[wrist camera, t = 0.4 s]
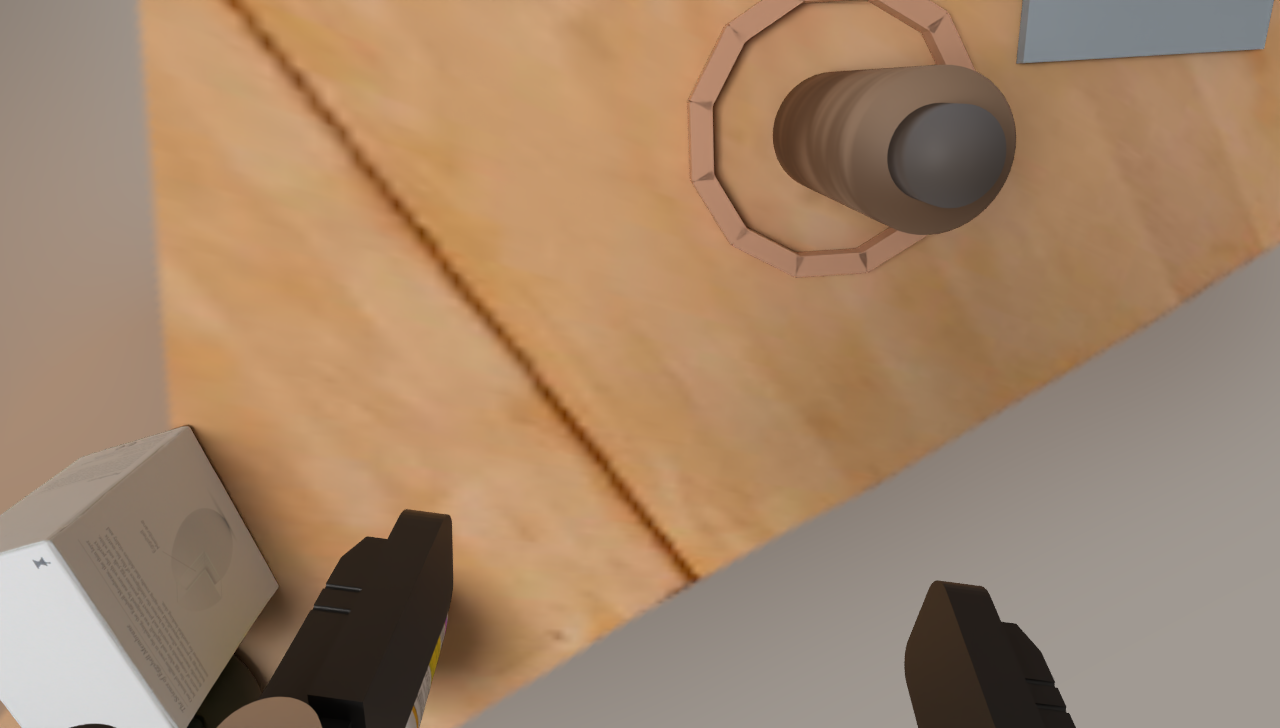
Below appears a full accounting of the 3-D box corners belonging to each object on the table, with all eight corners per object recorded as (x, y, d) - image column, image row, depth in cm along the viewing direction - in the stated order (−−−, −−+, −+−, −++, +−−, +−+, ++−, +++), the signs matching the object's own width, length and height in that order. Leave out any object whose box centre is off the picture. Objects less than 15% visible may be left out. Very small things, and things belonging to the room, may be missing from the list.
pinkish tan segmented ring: (683, -16, 33) (685, -19, 32) (981, -33, 34) (992, -36, 33) (693, 279, 38) (695, 284, 37) (956, 261, 38) (965, 266, 37)
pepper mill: (773, 75, 35) (873, 68, 22) (887, 68, 35) (1053, 57, 22) (772, 193, 37) (865, 249, 24) (881, 186, 37) (1032, 238, 24)
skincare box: (73, 457, 39) (-104, 582, 29) (190, 421, 39) (52, 535, 29) (174, 619, 43) (46, 779, 33) (282, 588, 43) (186, 739, 33)
